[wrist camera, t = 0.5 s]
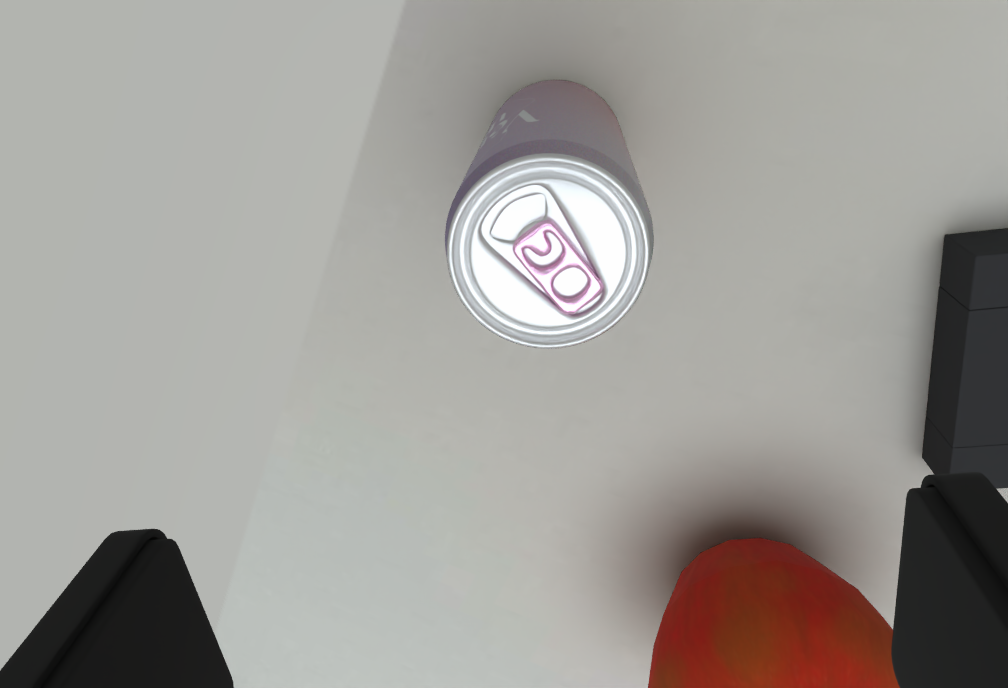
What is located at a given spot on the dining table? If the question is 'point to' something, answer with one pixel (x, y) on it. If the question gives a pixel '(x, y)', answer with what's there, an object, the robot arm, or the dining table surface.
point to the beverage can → (550, 221)
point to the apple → (769, 624)
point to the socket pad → (970, 360)
